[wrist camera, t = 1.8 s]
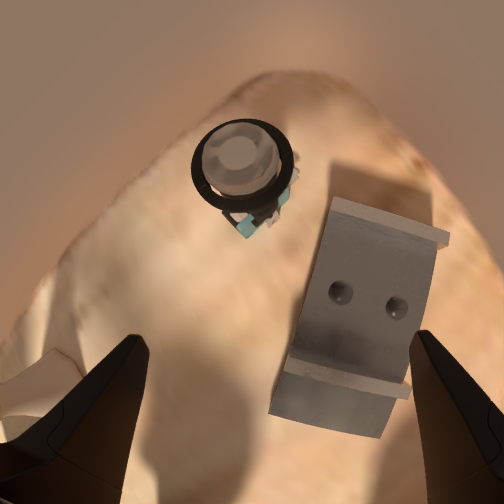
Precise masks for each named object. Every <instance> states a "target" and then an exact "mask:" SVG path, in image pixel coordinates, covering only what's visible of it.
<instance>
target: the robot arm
mask: <svg viewBox="0 0 504 504" xmlns="http://www.w3.org/2000/svg"><path fill="white" fill-rule="evenodd" d="M409 358H410V366H411V376H412V387H413V395H414V401H415V406H416V412H417V417H418V423H419V429H420V436H421V443H422V450H423V457H424V466H425V475H426V485H427V497H428V498H427V500H428V504H504V414H503V413H502V412H501V411H500V410H499V408H498V407H497V406H496V405H495V404H494V403H493V401H491V399H490V398H489V397H488V396H487V394H486V393H485V392H484V391H483V390H482V388H481V387H480V386H479V385H478V384H477V383H476V382H475V380H474V379H473V378H472V377H471V376H470V375H469V374H468V372H467V371H466V370H465V369H464V368H463V367H462V366H461V365H460V364H459V362H458V361H457V360H456V359H455V358H454V357H453V356H452V355H451V354H450V353H449V351H448V350H447V349H446V348H445V347H444V346H443V345H442V344H441V343H440V342H439V341H438V340H437V339H436V338H435V337H434V335H433V334H432V333H431V332H430V331H428V330H418V331H416V332H415V334H414V336H413V339H412V341H411V344H410V346H409ZM148 361H149V349H148V347H147V345H146V343H145V341H144V339H143V337H142V336H141V335H139V334H129V335H128V336H127V337H126V338H125V339H124V340H123V341H121V342H120V343H119V344H118V345H117V346H116V347H115V348H114V349H113V350H112V351H111V352H110V353H109V354H108V355H107V356H106V357H105V358H104V359H103V360H102V361H101V362H99V363H98V364H97V365H96V366H95V367H94V368H93V369H92V370H91V371H90V372H89V373H88V374H87V375H86V376H85V377H84V378H83V379H82V380H81V381H80V382H79V383H78V384H77V385H76V386H75V387H74V388H73V389H72V390H71V391H70V392H69V393H68V394H67V395H65V396H64V398H63V399H61V400H60V401H59V402H58V403H57V404H56V405H55V406H54V407H53V408H52V409H51V410H50V411H49V412H48V413H47V414H45V415H44V416H43V417H42V418H41V419H40V420H38V421H37V422H36V423H35V424H34V425H32V426H31V427H30V428H29V429H27V430H26V431H25V432H24V433H23V434H21V435H20V436H19V437H17V438H16V439H14V440H12V441H9V442H6V443H0V504H120V499H121V494H122V488H123V483H124V478H125V473H126V468H127V463H128V458H129V454H130V449H131V445H132V440H133V436H134V431H135V427H136V423H137V419H138V415H139V411H140V407H141V403H142V399H143V394H144V389H145V382H146V375H147V368H148Z"/></svg>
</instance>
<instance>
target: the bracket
mask: <svg viewBox="0 0 504 504" xmlns="http://www.w3.org/2000/svg"><path fill="white" fill-rule="evenodd" d="M449 237H450V232H447V231H444V230H441V229H438V228H436V227H433V226H430V225H427V224H424V223H421V222H418V221H415V220H412V219H409V218H406V217H403V216H400V215H397V214H393V213H390V212H387V211H384V210H380V209H377V208H374V207H371V206H367V205H364V204H360V203H357V202H354V201H350V200H347V199H343V198H340V197H336V196H334V197H333V200H332V203H331V206H330V209H329V213H328V217H327V221H326V225H325V229H324V233H323V237H322V240H321V244H320V248H319V252H318V255H317V259H316V263H315V266H314V270H313V273H312V277H311V280H310V284H309V287H308V291H307V294H306V298H305V301H304V305H303V308H302V311H301V315H300V318H299V321H298V324H297V328H296V331H295V334H294V337H293V340H292V343H291V347H290V350H289V353H288V356H287V359H286V362H285V365H284V368H283V371H282V374H281V377H280V380H279V383H278V386H277V388H276V391H275V394H274V397H273V400H272V403H271V405H270V408H269V412H268V414H271V415H275V416H278V417H282V418H285V419H289V420H293V421H296V422H300V423H304V424H308V425H312V426H317V427H321V428H325V429H330V430H334V431H339V432H344V433H349V434H355V435H360V436H366V437H372V438H378V439H380V437H381V435H382V433H383V431H384V428H385V426H386V424H387V421H388V419H389V417H390V414H391V412H392V409H393V407H394V404H395V402H396V399H397V398H400V399H406V400H408V398H409V395H410V392H411V390H412V386H411V385H410V384H409V383H407V382H406V381H404V378H405V375H406V372H407V369H408V366H409V363H410V358H409V346H410V344H411V341H412V339H413V336H414V334H415V332H416V331H418V330H420V326H421V322H422V319H423V315H424V311H425V307H426V303H427V298H428V294H429V290H430V285H431V280H432V275H433V270H434V265H435V260H436V254H437V250H440V249H442V248H445V247H447V246H448V245H449Z"/></svg>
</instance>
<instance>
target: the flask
mask: <svg viewBox="0 0 504 504" xmlns="http://www.w3.org/2000/svg"><path fill="white" fill-rule="evenodd" d="M82 379H83V378H82V376H81V374H80V372H79V370H78V369H77V367H76V365H75V363H74V361H72V360H71V359H69V358H68V357H66V356H65V355H63V354H62V353H60V352H59V351H58V350H56V349H55V348H54V349H52V350H51V351H50V352H48V353H47V354H46V355H45V356H43V357H42V358H41V359H40V360H38V361H37V362H36V363H35V364H33V365H32V366H31V367H29V368H28V369H26V370H25V371H24V372H22V373H21V374H20V375H18V376H17V377H15V378H13V379H11V380H9V381H7V382H5V383H2V384H0V420H1V419H3V417H7V416H16V415H28V416H35V417H43V416H44V415H45V414H47V413H48V412H49V411H50V410H51V409H52V408H53V407H54V406H55V405H56V404H57V403H58V402H59V401H60V400H61V399H63V398H64V396H65V395H67V394H68V393H69V392H70V391H71V390H72V389H73V388H74V387H75V386H76V385H77V384H78V383H79V382H80V381H81V380H82Z"/></svg>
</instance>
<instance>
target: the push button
mask: <svg viewBox="0 0 504 504" xmlns="http://www.w3.org/2000/svg"><path fill="white" fill-rule="evenodd" d="M279 158H280V159H281V162H282V166H281V170H280V173H279V176H278V177H277V168H278V163H279ZM298 174H299V171H298V170H296V169H295V168H294V158H293V152H292V148H291V146H290V143H289V141H288V140H287V138H286V137H285V136H284V134H283V133H282V132H281V131H280V130H278V129H277V128H276V127H274V126H273V125H271V124H269V123H266V122H264V121H261V120H256V119H237V120H232V121H229V122H226V123H223V124H221V125H219V126H217V127H216V128H214V129H213V130H211V131H210V132H209V133H208V134H207V135H206V136H205V137H204V138H203V139H202V140H201V141H200V143H199V144H198V146H197V148H196V150H195V152H194V155H193V158H192V163H191V175H192V180H193V183H194V185H195V187H196V189H197V191H198V192H199V194H200V195H201V196H202V197H203V198H204V199H205V200H206V201H207V202H208V203H209V204H211V205H212V206H214V207H216V208H218V209H220V210H223V211H222V214H223V215H224V216H225V217H226V219H227V220H228V221H229V222H230V223H231V224H232V225H233V226H234V227H235V228H236V229H237V230H238V231H239V232H240V233H241V234H242V235H243V236H244V237H245V238H246V239H247V238H249V237H250V236H251V235H252V234H253V233H254V232H255V231H256V230H257V229H258V228H259V227H260V226H261V225H262V224H263V223H264V222H266V223H267V225H268V227H269V228H270V227H271V226H272V225H273V224H274V223H275V222H276V221H277V220H278V219H279V214H278V212H277V210H278V209H279V208H280V207H281V206H282V205H283V204H284V203H285V202H286V201H287V200H288V199H289V189H290V188H291V187H290V186H291V185H292V184H293V183H294V182H295V181H296V180H297V179H298V178H299V176H298ZM293 178H294V180H292V179H293ZM210 184H211V185H212V186H213V187H214V188H215V189H216V190H218V191H219V192H220V193H221V195H222V196H223V197H222V196H220V195H218V194H216V193H215V192H214V191H212V189H211V186H210ZM274 220H275V221H274ZM273 221H274V222H273ZM272 222H273V223H272Z"/></svg>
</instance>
